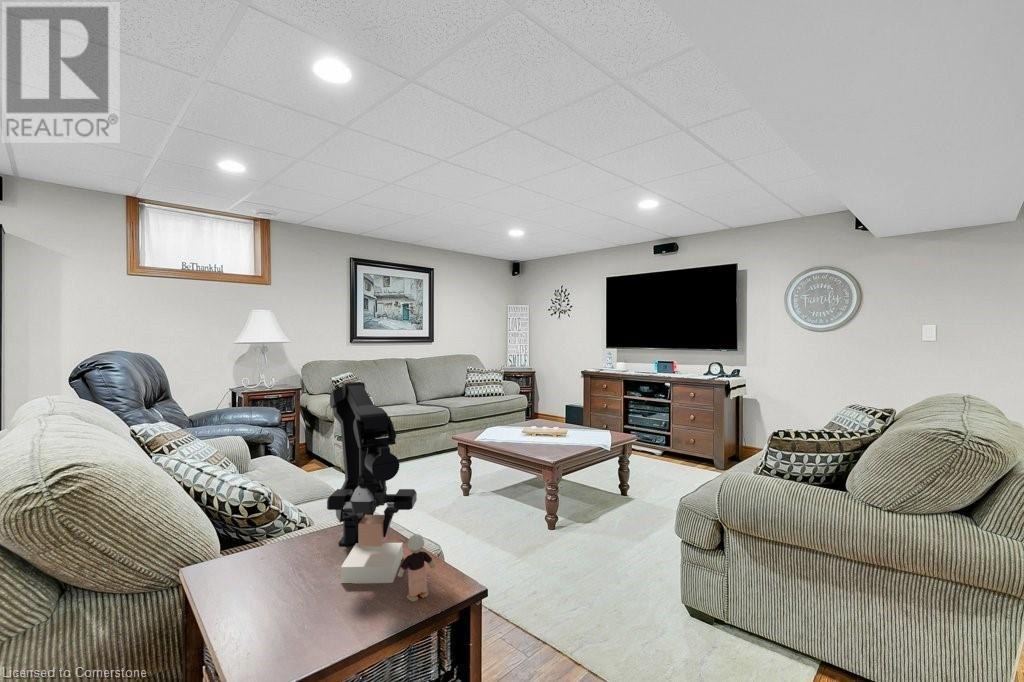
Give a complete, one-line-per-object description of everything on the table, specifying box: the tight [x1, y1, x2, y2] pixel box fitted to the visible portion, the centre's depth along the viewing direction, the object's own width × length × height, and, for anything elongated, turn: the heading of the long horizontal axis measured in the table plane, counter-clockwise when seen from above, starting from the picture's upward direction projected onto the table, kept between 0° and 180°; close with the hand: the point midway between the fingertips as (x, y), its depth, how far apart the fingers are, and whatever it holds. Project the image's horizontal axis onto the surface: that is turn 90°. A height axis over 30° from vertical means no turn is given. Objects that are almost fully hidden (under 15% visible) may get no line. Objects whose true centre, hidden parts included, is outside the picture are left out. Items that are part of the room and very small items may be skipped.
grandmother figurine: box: [397, 533, 436, 603], centre depth 96 cm, size 8×4×13 cm, turn 135°
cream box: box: [340, 542, 404, 585], centre depth 106 cm, size 11×11×4 cm
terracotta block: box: [358, 514, 388, 546], centre depth 106 cm, size 5×5×5 cm
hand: (373, 536), depth 106 cm, fingers closed on terracotta block, 5 cm apart
